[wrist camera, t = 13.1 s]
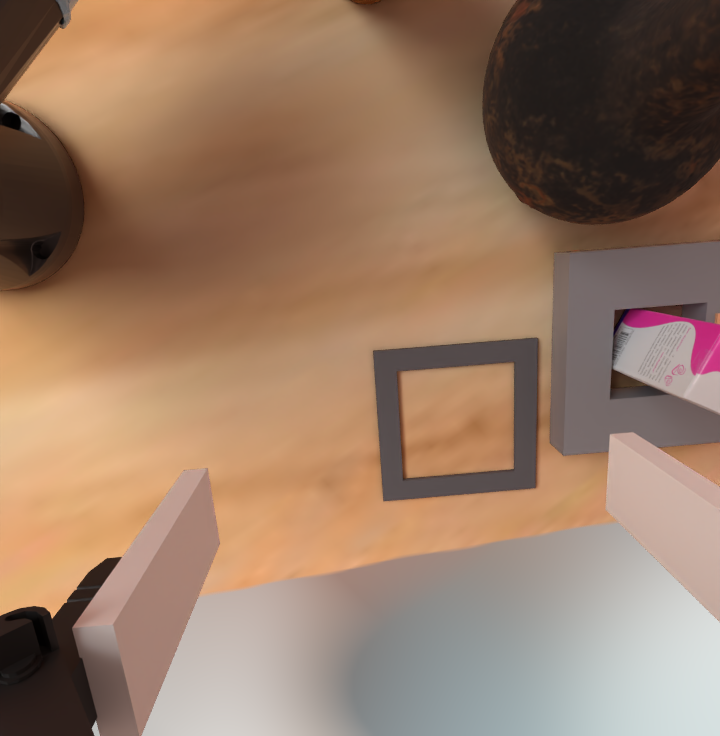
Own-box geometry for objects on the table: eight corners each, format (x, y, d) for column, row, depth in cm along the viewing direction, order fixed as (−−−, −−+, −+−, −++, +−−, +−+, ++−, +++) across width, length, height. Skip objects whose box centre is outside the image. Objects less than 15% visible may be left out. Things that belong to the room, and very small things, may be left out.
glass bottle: (662, -40, 37) (1516, -807, 10) (686, 194, 42) (1332, 95, 15) (439, 27, 38) (689, -532, 11) (486, 252, 42) (750, 259, 15)
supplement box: (648, 385, 46) (746, 429, 35) (595, 361, 45) (678, 398, 34) (681, 329, 45) (793, 356, 33) (627, 304, 44) (724, 323, 33)
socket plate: (554, 252, 42) (571, 253, 39) (732, 238, 43) (764, 238, 40) (549, 442, 47) (565, 456, 44) (711, 428, 47) (738, 442, 44)
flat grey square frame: (373, 350, 44) (373, 351, 44) (536, 337, 44) (537, 338, 44) (383, 499, 48) (383, 501, 47) (533, 486, 48) (535, 488, 47)
